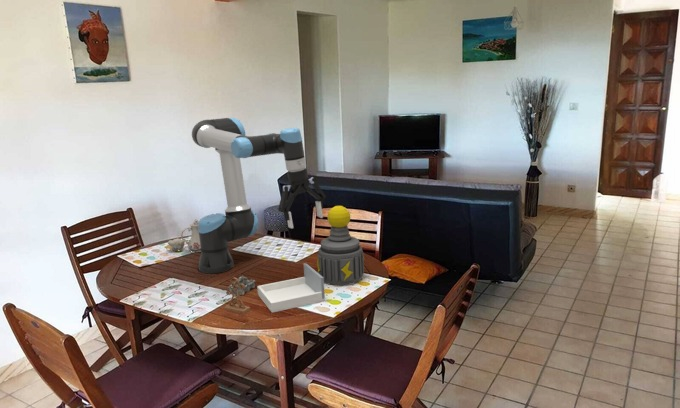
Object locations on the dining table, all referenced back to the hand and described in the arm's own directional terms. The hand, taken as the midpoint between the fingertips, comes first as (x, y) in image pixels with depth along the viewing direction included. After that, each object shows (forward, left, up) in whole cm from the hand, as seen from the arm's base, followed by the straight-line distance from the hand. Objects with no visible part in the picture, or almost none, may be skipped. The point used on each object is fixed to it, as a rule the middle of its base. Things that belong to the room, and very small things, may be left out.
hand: (305, 222), depth 194 cm
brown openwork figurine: (+11, -32, -25) cm, 42 cm away
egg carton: (-6, -26, -25) cm, 37 cm away
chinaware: (-70, -33, -25) cm, 82 cm away
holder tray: (+11, -12, -25) cm, 29 cm away
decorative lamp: (+2, +13, -25) cm, 28 cm away
